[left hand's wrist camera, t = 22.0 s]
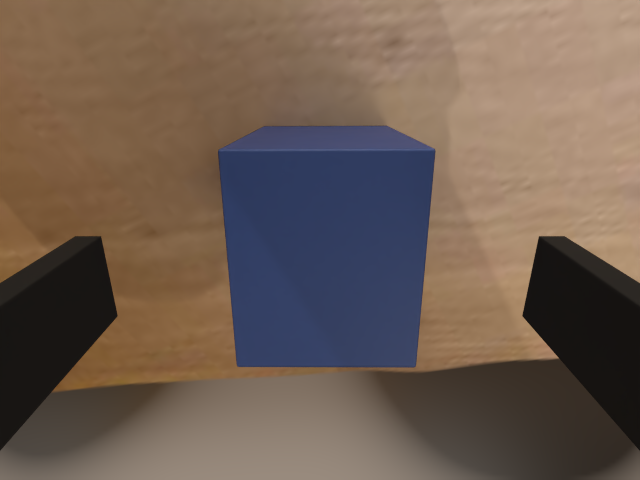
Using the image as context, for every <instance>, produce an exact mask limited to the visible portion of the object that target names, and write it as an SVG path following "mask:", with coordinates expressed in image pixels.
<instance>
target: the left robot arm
mask: <svg viewBox="0 0 640 480" xmlns="http://www.w3.org/2000/svg"><path fill="white" fill-rule="evenodd" d="M116 317H117V311H116V306H115V301H114V297H113V292H112V287H111V282H110V277H109V273H108V268H107V263H106V258H105V253H104V249H103V244H102V239H101V236H75V237H74V238H72V239H70V240H69V241H67V242H66V243H64V244H62V245H61V246H59V247H58V248H56V249H54V250H53V251H51V252H50V253H48V254H46V255H45V256H43V257H42V258H40V259H38V260H37V261H35V262H34V263H32V264H30V265H29V266H27V267H25V268H24V269H22V270H21V271H19V272H17V273H16V274H14V275H13V276H11V277H9V278H8V279H6V280H5V281H3V282H1V283H0V450H1V449H2V448H3V447H4V446H5V444H6V443H7V442H8V441H9V440H10V439H11V438H12V436H13V435H14V434H15V433H16V432H17V431H18V430H19V428H20V427H21V426H22V425H23V424H24V423H25V422H26V420H27V419H28V418H29V417H30V416H31V415H32V414H33V412H34V411H35V410H36V409H37V408H38V407H39V406H40V404H41V403H42V402H43V401H44V400H45V399H46V397H47V396H48V395H49V394H50V393H51V392H52V391H53V389H54V388H55V387H56V386H57V385H58V384H59V383H60V381H61V380H62V379H63V378H64V377H65V376H66V375H67V373H68V372H69V371H70V370H71V369H72V368H73V367H74V365H75V364H76V363H77V362H78V361H79V360H80V359H81V357H82V356H83V355H84V354H85V353H86V352H87V350H88V349H89V348H90V347H91V346H92V345H93V344H94V342H95V341H96V340H97V339H98V338H99V337H100V336H101V334H102V333H103V332H104V331H105V330H106V329H107V328H108V326H109V325H110V324H111V323H112V322H113V321H114V320H115V318H116ZM523 317H524V318H525V320H526V321H527V322H528V323H529V324H530V325H531V326H532V328H533V329H534V330H535V331H536V332H537V333H538V334H539V336H540V337H541V338H542V339H543V340H544V341H545V342H546V344H547V345H548V346H549V347H550V348H551V349H552V350H553V352H554V353H555V354H556V355H557V356H558V357H559V359H560V360H561V361H562V362H563V363H564V364H565V365H566V367H567V368H568V369H569V370H570V371H571V372H572V373H573V375H574V376H575V377H576V378H577V379H578V380H579V381H580V383H581V384H582V385H583V386H584V387H585V388H586V389H587V391H588V392H589V393H590V394H591V395H592V396H593V397H594V399H595V400H596V401H597V402H598V403H599V404H600V406H601V407H602V408H603V409H604V410H605V411H606V412H607V414H608V415H609V416H610V417H611V418H612V419H613V420H614V422H615V423H616V424H617V425H618V426H619V427H620V428H621V430H622V431H623V432H624V433H625V434H626V435H627V436H628V438H629V439H630V440H631V441H632V442H633V443H634V444H635V446H636V447H637V448H638V449H639V450H640V283H639V282H637V281H635V280H634V279H632V278H631V277H629V276H627V275H626V274H624V273H623V272H621V271H619V270H618V269H616V268H615V267H613V266H611V265H610V264H608V263H606V262H605V261H603V260H602V259H600V258H598V257H597V256H595V255H594V254H592V253H590V252H589V251H587V250H586V249H584V248H582V247H581V246H579V245H578V244H576V243H574V242H573V241H571V240H570V239H568V238H566V237H565V236H539V239H538V244H537V249H536V253H535V258H534V263H533V268H532V273H531V277H530V282H529V287H528V292H527V297H526V301H525V306H524V311H523Z"/></svg>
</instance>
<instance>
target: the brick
mask: <svg viewBox="0 0 640 480" xmlns="http://www.w3.org/2000/svg"><path fill="white" fill-rule="evenodd" d="M218 157H219V168H220V179H221V191H222V202H223V214H224V225H225V236H226V248H227V259H228V270H229V282H230V293H231V305H232V316H233V327H234V339H235V350H236V361H237V366H238V367H415V366H416V359H417V348H418V337H419V326H420V315H421V304H422V293H423V282H424V271H425V260H426V249H427V238H428V227H429V216H430V204H431V193H432V182H433V171H434V160H435V149H433V148H431V147H429V146H427V145H425V144H423V143H421V142H419V141H417V140H415V139H413V138H411V137H409V136H407V135H405V134H403V133H401V132H399V131H396V130H394V129H392V128H390V127H388V126H264V127H262V128H260V129H258V130H256V131H254V132H252V133H250V134H248V135H246V136H244V137H243V138H241V139H239V140H237V141H235V142H233V143H231V144H229V145H227V146H225V147H223V148H221V149H219V151H218Z"/></svg>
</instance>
